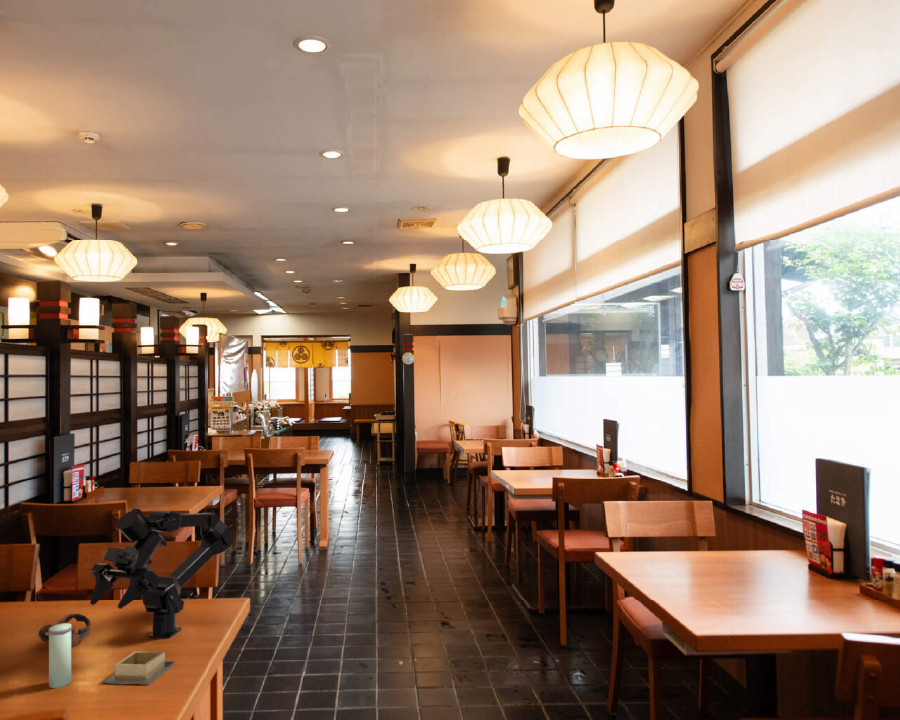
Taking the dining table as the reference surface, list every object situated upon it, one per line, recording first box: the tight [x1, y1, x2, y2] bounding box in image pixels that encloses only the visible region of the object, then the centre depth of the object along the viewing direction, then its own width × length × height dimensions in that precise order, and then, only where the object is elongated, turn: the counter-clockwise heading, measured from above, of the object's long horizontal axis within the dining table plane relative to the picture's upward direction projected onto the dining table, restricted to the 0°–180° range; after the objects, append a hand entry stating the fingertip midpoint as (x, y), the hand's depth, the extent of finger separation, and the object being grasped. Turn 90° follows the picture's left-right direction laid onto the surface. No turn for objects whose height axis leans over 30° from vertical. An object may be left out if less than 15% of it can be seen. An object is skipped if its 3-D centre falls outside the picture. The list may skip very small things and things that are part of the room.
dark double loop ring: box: [38, 613, 92, 647], centre depth 171 cm, size 12×10×8 cm
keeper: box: [103, 650, 176, 686], centre depth 151 cm, size 11×11×4 cm
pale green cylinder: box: [48, 622, 73, 689], centre depth 147 cm, size 5×5×13 cm
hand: (105, 606), depth 158 cm, fingers open, 9 cm apart
